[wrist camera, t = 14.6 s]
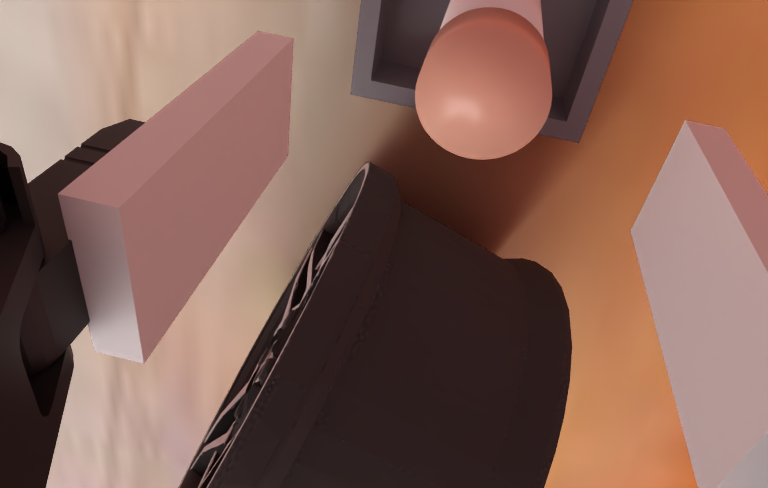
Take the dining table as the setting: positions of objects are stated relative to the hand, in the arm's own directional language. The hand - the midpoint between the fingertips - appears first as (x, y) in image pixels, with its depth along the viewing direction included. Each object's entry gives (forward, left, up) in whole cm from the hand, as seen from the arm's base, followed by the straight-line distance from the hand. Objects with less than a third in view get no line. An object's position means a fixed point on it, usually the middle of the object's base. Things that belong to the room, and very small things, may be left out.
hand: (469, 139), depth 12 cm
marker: (0, 0, -15) cm, 15 cm away
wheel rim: (-2, -17, -15) cm, 23 cm away
